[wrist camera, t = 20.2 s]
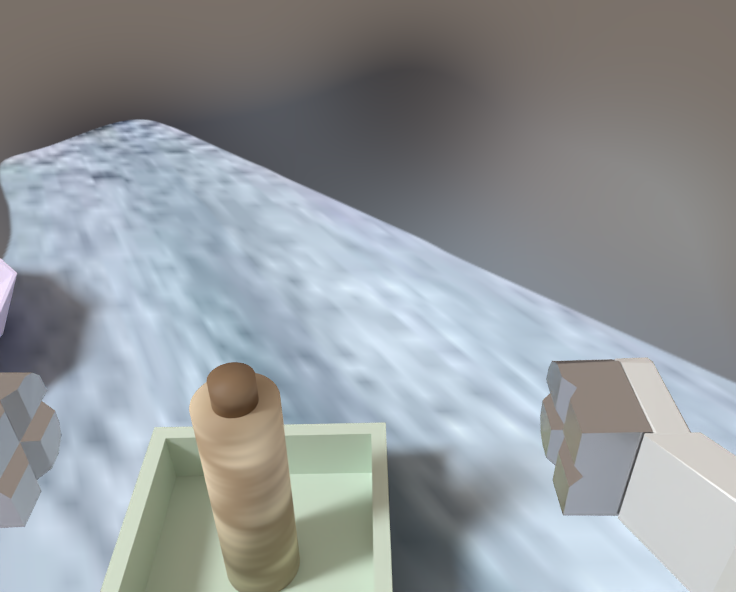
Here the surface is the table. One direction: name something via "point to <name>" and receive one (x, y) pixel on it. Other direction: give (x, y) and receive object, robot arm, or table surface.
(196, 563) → the bin
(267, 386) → the pepper mill
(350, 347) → the table surface
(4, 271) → the fruit bowl
